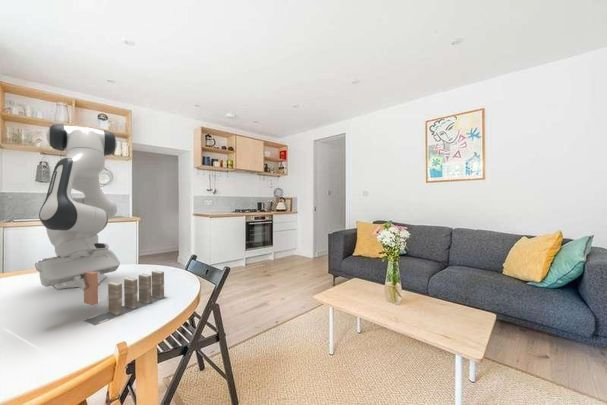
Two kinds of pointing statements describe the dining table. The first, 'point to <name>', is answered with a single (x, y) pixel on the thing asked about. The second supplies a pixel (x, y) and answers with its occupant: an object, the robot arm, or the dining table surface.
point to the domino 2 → (130, 293)
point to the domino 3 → (145, 288)
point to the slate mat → (108, 316)
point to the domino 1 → (115, 298)
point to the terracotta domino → (91, 288)
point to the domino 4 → (158, 284)
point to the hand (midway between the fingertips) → (91, 286)
